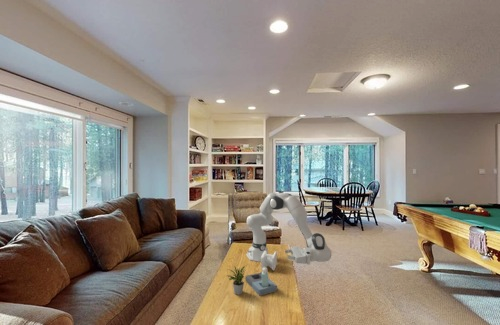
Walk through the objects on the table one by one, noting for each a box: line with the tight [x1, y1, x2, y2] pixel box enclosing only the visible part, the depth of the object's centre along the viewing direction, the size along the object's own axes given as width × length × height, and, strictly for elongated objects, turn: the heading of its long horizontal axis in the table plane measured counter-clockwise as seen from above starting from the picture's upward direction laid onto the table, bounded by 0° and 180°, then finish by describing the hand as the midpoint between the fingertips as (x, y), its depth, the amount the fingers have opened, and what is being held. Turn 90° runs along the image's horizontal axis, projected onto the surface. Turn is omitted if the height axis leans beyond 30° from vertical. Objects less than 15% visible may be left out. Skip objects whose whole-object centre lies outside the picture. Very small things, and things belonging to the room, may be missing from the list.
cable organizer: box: [260, 250, 278, 272], centre depth 191 cm, size 15×11×12 cm
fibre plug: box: [261, 267, 269, 288], centre depth 157 cm, size 4×4×14 cm
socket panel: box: [244, 271, 278, 296], centre depth 162 cm, size 21×13×4 cm, turn 25°
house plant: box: [226, 265, 247, 296], centre depth 155 cm, size 14×14×16 cm
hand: (286, 254), depth 162 cm, fingers open, 8 cm apart
